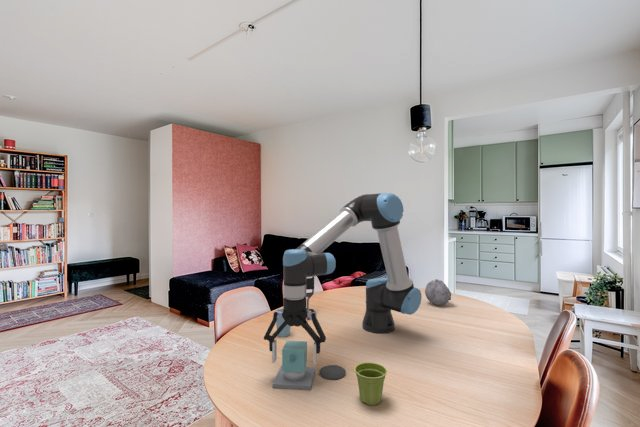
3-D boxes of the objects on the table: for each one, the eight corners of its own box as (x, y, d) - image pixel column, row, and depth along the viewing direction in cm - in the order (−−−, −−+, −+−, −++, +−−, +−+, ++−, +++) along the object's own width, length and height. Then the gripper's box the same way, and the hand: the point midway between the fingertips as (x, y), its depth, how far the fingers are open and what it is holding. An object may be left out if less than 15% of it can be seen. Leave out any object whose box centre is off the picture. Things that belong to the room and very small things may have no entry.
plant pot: (351, 391, 97) (351, 362, 97) (381, 389, 97) (381, 361, 97) (357, 410, 87) (357, 378, 87) (391, 408, 88) (391, 377, 88)
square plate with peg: (315, 370, 109) (315, 344, 109) (310, 390, 97) (310, 360, 97) (281, 368, 110) (281, 343, 110) (272, 387, 98) (272, 358, 98)
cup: (294, 336, 140) (294, 312, 140) (277, 339, 137) (277, 315, 137) (289, 330, 147) (289, 308, 147) (273, 333, 144) (272, 310, 144)
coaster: (346, 367, 111) (346, 365, 111) (345, 380, 102) (345, 378, 102) (320, 366, 112) (320, 364, 112) (317, 379, 103) (317, 377, 103)
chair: (315, 310, 177) (315, 271, 177) (308, 320, 160) (308, 277, 160) (293, 309, 179) (293, 270, 179) (284, 319, 162) (284, 276, 162)
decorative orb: (455, 308, 180) (455, 282, 180) (429, 308, 180) (429, 282, 180) (445, 301, 194) (445, 277, 194) (421, 301, 195) (421, 277, 195)
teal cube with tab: (286, 361, 108) (286, 340, 108) (307, 362, 107) (307, 341, 107) (280, 374, 99) (280, 351, 99) (303, 375, 98) (303, 352, 98)
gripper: (333, 295, 106) (333, 358, 106) (261, 293, 109) (260, 354, 109) (332, 301, 99) (332, 369, 99) (254, 298, 101) (254, 365, 101)
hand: (294, 361), depth 104 cm, fingers open, 13 cm apart
